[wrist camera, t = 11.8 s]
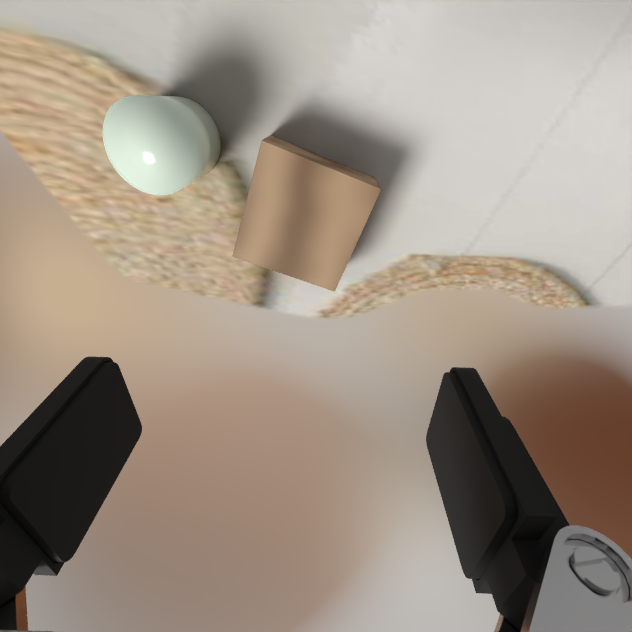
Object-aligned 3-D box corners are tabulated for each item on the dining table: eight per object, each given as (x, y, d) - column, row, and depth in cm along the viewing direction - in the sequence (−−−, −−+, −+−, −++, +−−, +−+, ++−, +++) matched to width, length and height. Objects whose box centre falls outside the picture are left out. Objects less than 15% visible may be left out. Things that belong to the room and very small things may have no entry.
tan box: (373, 177, 32) (381, 189, 27) (333, 269, 37) (334, 291, 32) (270, 135, 30) (261, 140, 26) (243, 237, 35) (232, 256, 31)
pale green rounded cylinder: (215, 97, 28) (186, 96, 22) (224, 178, 32) (201, 196, 26) (138, 95, 28) (89, 93, 22) (156, 176, 32) (117, 194, 26)
